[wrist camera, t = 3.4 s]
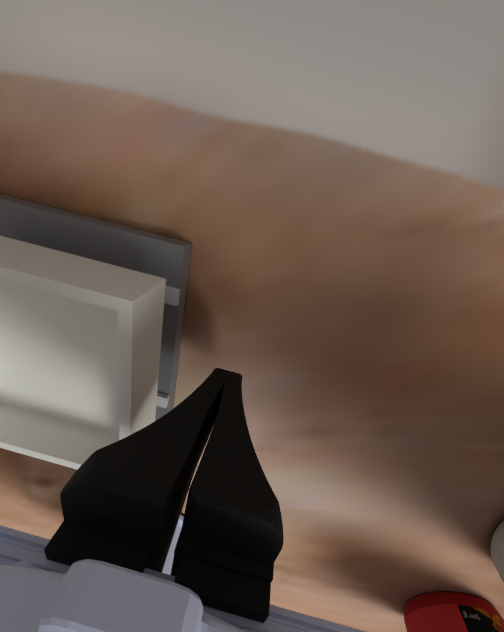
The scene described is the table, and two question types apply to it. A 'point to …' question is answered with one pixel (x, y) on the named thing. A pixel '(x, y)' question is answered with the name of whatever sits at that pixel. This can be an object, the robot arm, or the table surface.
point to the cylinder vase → (498, 549)
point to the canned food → (451, 614)
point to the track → (115, 249)
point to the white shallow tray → (75, 352)
